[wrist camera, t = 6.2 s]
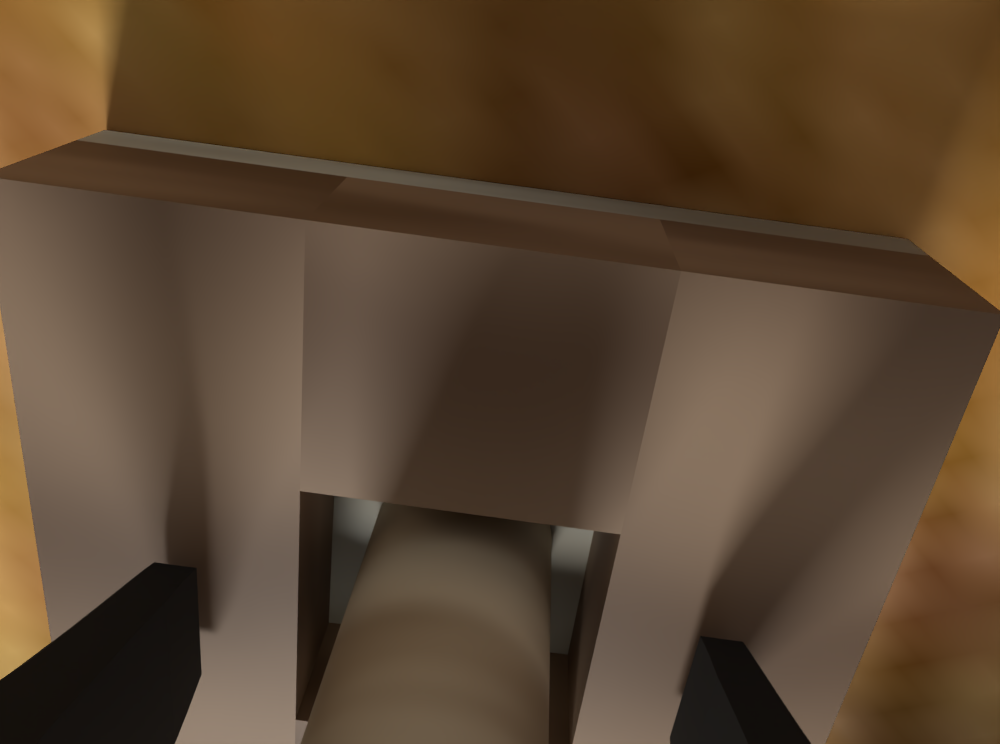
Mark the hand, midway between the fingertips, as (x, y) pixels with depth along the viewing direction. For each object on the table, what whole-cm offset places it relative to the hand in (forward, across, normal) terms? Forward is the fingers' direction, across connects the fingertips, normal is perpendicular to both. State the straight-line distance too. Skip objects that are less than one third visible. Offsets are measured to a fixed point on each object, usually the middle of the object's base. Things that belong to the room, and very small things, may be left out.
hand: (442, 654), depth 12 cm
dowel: (+3, 0, 0) cm, 3 cm away
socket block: (+3, 0, 0) cm, 3 cm away
